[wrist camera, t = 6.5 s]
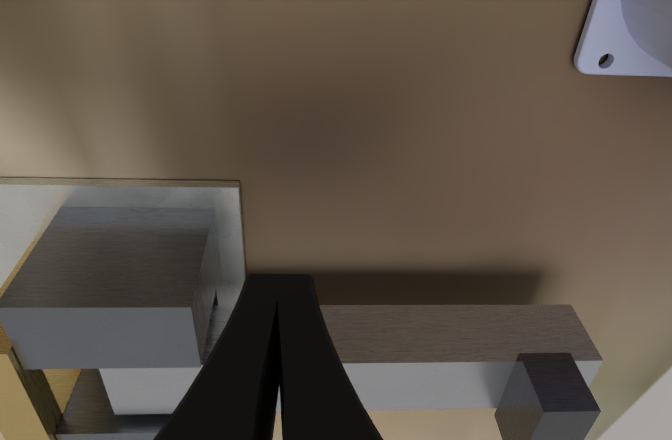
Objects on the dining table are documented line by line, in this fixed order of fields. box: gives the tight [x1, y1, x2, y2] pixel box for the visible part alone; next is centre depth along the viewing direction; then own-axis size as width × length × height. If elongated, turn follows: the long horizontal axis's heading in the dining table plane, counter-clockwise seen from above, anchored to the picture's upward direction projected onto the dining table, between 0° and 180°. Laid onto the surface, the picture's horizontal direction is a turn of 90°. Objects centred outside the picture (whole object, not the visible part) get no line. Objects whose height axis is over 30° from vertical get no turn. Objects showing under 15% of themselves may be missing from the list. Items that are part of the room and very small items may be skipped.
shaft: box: [99, 305, 603, 440], centre depth 20 cm, size 19×4×6 cm, turn 87°
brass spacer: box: [0, 242, 82, 440], centre depth 21 cm, size 2×6×6 cm, turn 177°
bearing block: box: [0, 177, 246, 440], centre depth 21 cm, size 14×12×6 cm
